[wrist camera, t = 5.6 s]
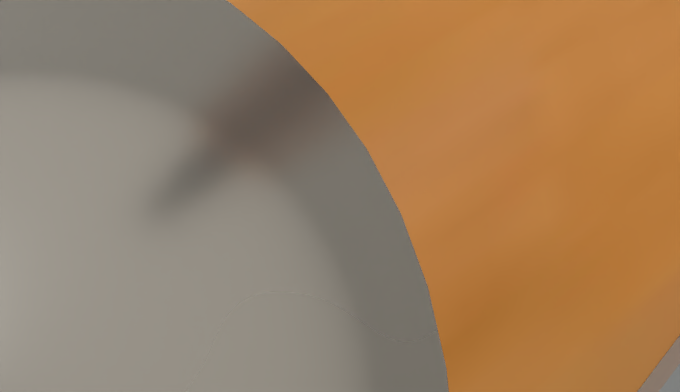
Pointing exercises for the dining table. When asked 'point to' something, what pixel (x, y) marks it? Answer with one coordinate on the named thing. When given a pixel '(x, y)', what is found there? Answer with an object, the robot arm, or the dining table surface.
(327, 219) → the shiny silver cylinder
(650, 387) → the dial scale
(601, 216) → the dining table surface
